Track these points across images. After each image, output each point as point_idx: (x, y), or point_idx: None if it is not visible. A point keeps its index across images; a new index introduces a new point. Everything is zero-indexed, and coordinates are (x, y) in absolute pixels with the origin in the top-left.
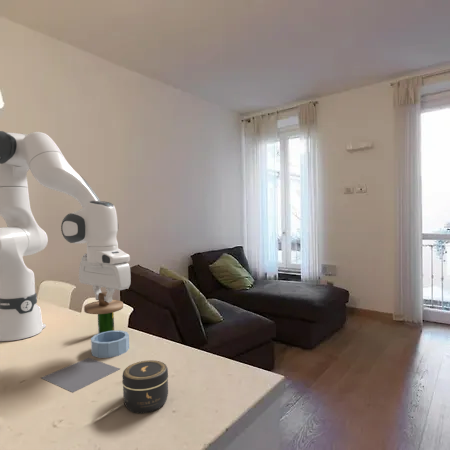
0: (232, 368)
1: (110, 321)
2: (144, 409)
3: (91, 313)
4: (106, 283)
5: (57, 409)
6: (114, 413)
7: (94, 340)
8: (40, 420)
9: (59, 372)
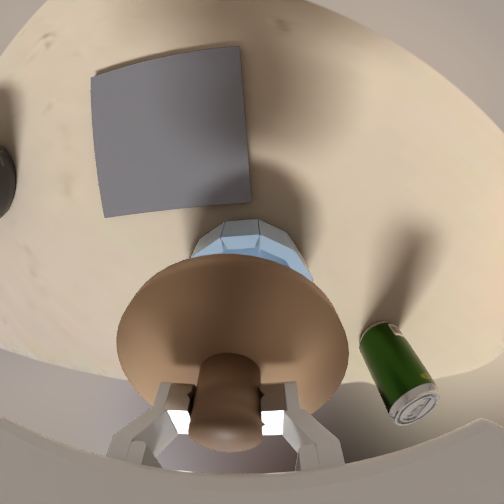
0: (16, 339)
1: (371, 367)
2: None
3: (182, 261)
4: (81, 481)
5: (78, 43)
6: (4, 123)
7: (261, 246)
8: (75, 16)
9: (225, 91)
